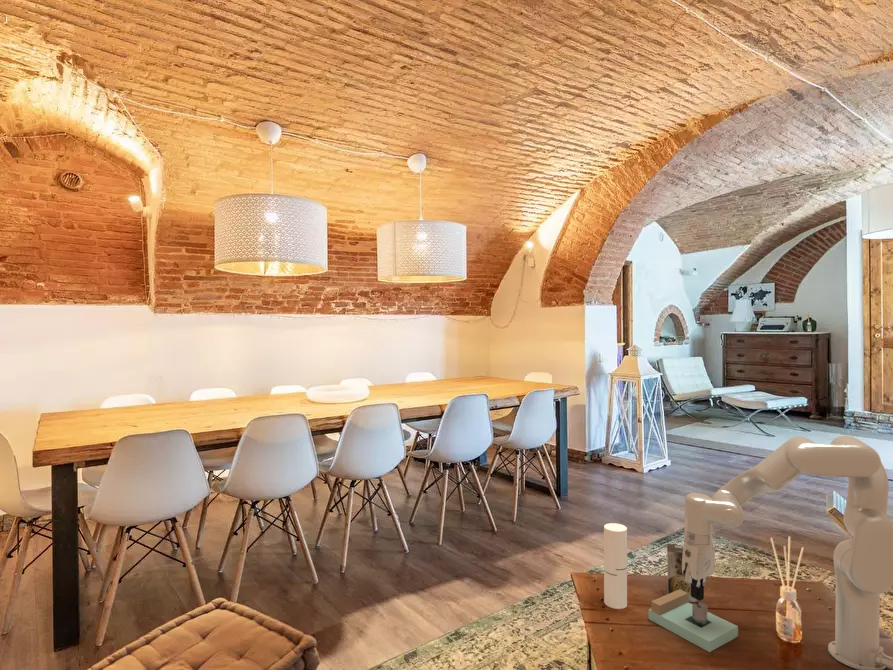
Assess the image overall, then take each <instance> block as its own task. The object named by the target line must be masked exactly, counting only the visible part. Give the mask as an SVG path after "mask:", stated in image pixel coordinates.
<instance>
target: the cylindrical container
mask: <svg viewBox="0 0 893 670" xmlns="http://www.w3.org/2000/svg"><path fill="white" fill-rule="evenodd" d="M603 603H604V604H605V605H606V606H607V607H609V608H610V609H614V610H615V609H616V610H623V609H625V608H627V606H628V527H627V526H625V525H624V524H621V523H614V522H612V523H611V522H610V523H609V522H608V523H606V524H604V526H603Z"/></svg>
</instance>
